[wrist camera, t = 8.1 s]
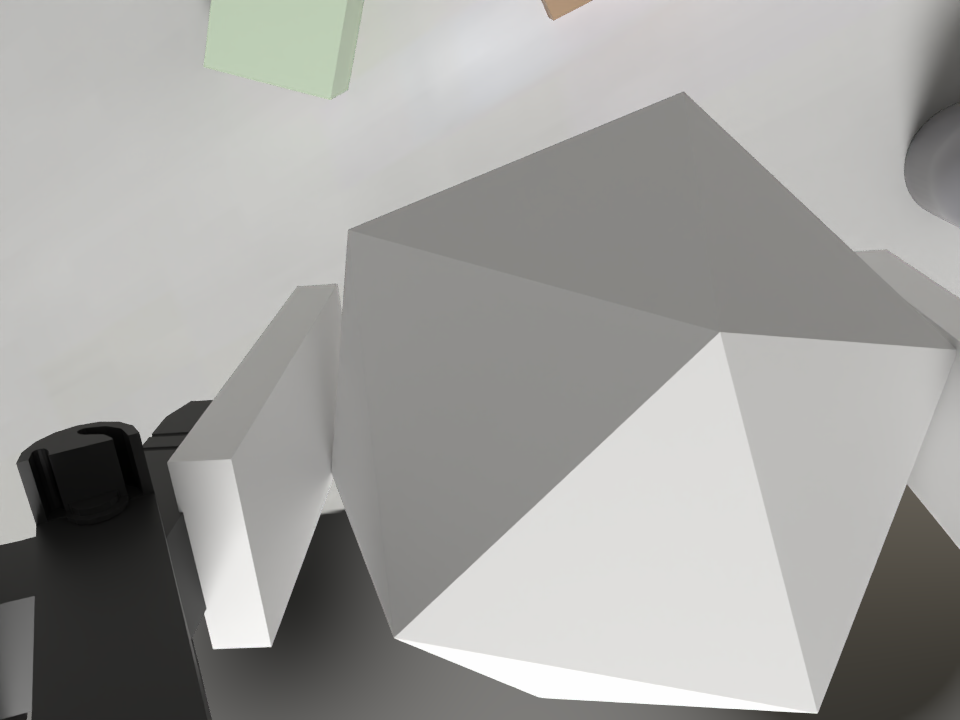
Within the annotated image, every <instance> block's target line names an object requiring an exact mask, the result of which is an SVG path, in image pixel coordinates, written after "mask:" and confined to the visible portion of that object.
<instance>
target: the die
mask: <svg viewBox="0 0 960 720" xmlns="http://www.w3.org/2000/svg"><path fill="white" fill-rule="evenodd" d="M956 354H957V350H956V348H955V346H954V345H953V344H951V343H950V342H949V341H948V340H947V339H946V338H945V337H944V336H943V335H942V334H941V333H940V332H939V331H938V330H937V329H936V328H934V327H933V326H932V325H931V324H930V323H929V322H928V321H927V320H926V319H925V318H924V317H923V316H922V315H921V314H920V313H918V312H917V311H916V310H915V309H914V308H913V307H912V306H911V305H910V304H909V303H908V302H907V301H906V300H905V299H904V298H903V297H901V296H900V295H899V294H898V293H897V292H896V291H895V290H894V289H893V288H892V287H891V286H890V285H889V284H888V283H887V282H886V281H884V280H883V279H882V278H881V277H880V276H879V275H878V274H877V273H876V272H875V271H874V270H873V269H872V268H871V267H870V266H869V265H867V264H866V263H865V262H864V261H863V260H862V259H861V258H860V257H859V256H858V255H857V254H856V253H855V252H854V251H853V250H852V249H850V248H849V247H848V246H847V245H846V244H845V243H844V242H843V241H842V240H841V239H840V238H839V237H838V236H837V235H836V234H835V233H833V232H832V231H831V230H830V229H829V228H828V227H827V226H826V225H825V224H824V223H823V222H822V221H821V220H820V219H819V218H817V217H816V216H815V215H814V214H813V213H812V212H811V211H810V210H809V209H808V208H807V207H806V206H805V205H804V204H803V203H802V202H800V201H799V200H798V199H797V198H796V197H795V196H794V195H793V194H792V193H791V192H790V191H789V190H788V189H787V188H786V187H785V186H783V185H782V184H781V183H780V182H779V181H778V180H777V179H776V178H775V177H774V176H773V175H772V174H771V173H770V172H769V171H768V170H766V169H765V168H764V167H763V166H762V165H761V164H760V163H759V162H758V161H757V160H756V159H755V158H754V157H753V156H752V155H751V154H749V153H748V152H747V151H746V150H745V149H744V148H743V147H742V146H741V145H740V144H739V143H738V142H737V141H736V140H735V139H734V138H732V137H731V136H730V135H729V134H728V133H727V132H726V131H725V130H724V129H723V128H722V127H721V126H720V125H719V124H718V123H716V122H715V121H714V120H713V119H712V118H711V117H710V116H709V115H708V114H707V113H706V112H705V111H704V110H703V109H702V108H701V107H699V106H698V105H697V104H696V103H695V102H694V101H693V100H692V99H691V98H690V97H689V96H688V95H687V94H686V93H685V92H681V93H679V94H676V95H674V96H672V97H669V98H667V99H664V100H662V101H659V102H657V103H655V104H652V105H650V106H647V107H645V108H643V109H640V110H638V111H635V112H633V113H630V114H628V115H626V116H623V117H621V118H618V119H616V120H613V121H611V122H609V123H606V124H604V125H601V126H599V127H596V128H594V129H592V130H589V131H587V132H584V133H582V134H579V135H577V136H575V137H572V138H570V139H567V140H565V141H562V142H560V143H558V144H555V145H553V146H550V147H548V148H545V149H543V150H541V151H538V152H536V153H533V154H531V155H528V156H526V157H524V158H521V159H519V160H516V161H514V162H511V163H509V164H507V165H504V166H502V167H499V168H497V169H494V170H492V171H490V172H487V173H485V174H482V175H480V176H477V177H475V178H473V179H470V180H468V181H465V182H463V183H460V184H458V185H456V186H453V187H451V188H448V189H446V190H443V191H441V192H439V193H436V194H434V195H431V196H429V197H426V198H424V199H422V200H419V201H417V202H414V203H412V204H409V205H407V206H405V207H402V208H400V209H397V210H395V211H392V212H390V213H388V214H385V215H383V216H380V217H378V218H375V219H373V220H371V221H368V222H366V223H363V224H361V225H358V226H356V227H354V228H351V229H349V230H348V238H347V252H346V266H345V280H344V294H343V308H342V322H341V336H340V350H339V364H338V378H337V392H336V407H335V421H334V435H333V449H332V463H331V472H332V476H333V478H334V481H335V484H336V486H337V489H338V492H339V494H340V497H341V499H342V502H343V505H344V507H345V510H346V513H347V515H348V518H349V520H350V523H351V526H352V529H353V531H354V533H355V536H356V539H357V541H358V544H359V547H360V549H361V552H362V555H363V558H364V560H365V563H366V566H367V568H368V571H369V573H370V576H371V578H372V581H373V584H374V587H375V589H376V592H377V595H378V597H379V600H380V602H381V605H382V608H383V610H384V613H385V616H386V618H387V621H388V624H389V626H390V629H391V632H392V634H393V637H394V638H395V639H398V640H400V641H402V642H405V643H408V644H410V645H412V646H415V647H417V648H420V649H422V650H425V651H427V652H429V653H432V654H434V655H437V656H439V657H442V658H444V659H447V660H449V661H451V662H454V663H456V664H459V665H461V666H464V667H466V668H469V669H471V670H474V671H476V672H478V673H481V674H483V675H486V676H489V677H491V678H493V679H496V680H498V681H500V682H503V683H505V684H508V685H510V686H513V687H515V688H518V689H520V690H522V691H525V692H527V693H530V694H533V695H535V696H537V697H540V698H554V699H571V700H589V701H590V700H591V701H608V702H625V703H642V704H660V705H678V706H679V705H680V706H696V707H714V708H731V709H749V710H767V711H768V710H769V711H785V712H802V713H818V711H819V708H820V706H821V703H822V701H823V698H824V695H825V693H826V690H827V688H828V685H829V682H830V680H831V677H832V675H833V672H834V670H835V667H836V664H837V662H838V659H839V657H840V654H841V652H842V649H843V646H844V644H845V641H846V639H847V636H848V633H849V631H850V628H851V626H852V623H853V621H854V618H855V616H856V613H857V610H858V608H859V605H860V603H861V600H862V597H863V595H864V592H865V590H866V587H867V584H868V582H869V579H870V577H871V574H872V571H873V569H874V566H875V564H876V561H877V559H878V556H879V554H880V551H881V549H882V546H883V543H884V540H885V538H886V535H887V533H888V530H889V528H890V525H891V523H892V520H893V518H894V515H895V512H896V510H897V507H898V504H899V501H900V499H901V497H902V494H903V492H904V489H905V487H906V484H907V481H908V479H909V476H910V474H911V471H912V469H913V466H914V463H915V461H916V458H917V456H918V453H919V451H920V448H921V445H922V443H923V440H924V438H925V435H926V432H927V430H928V427H929V425H930V422H931V420H932V417H933V414H934V412H935V409H936V407H937V404H938V402H939V399H940V396H941V394H942V391H943V389H944V386H945V383H946V381H947V378H948V376H949V373H950V371H951V368H952V365H953V363H954V360H955V358H956Z"/></svg>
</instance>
